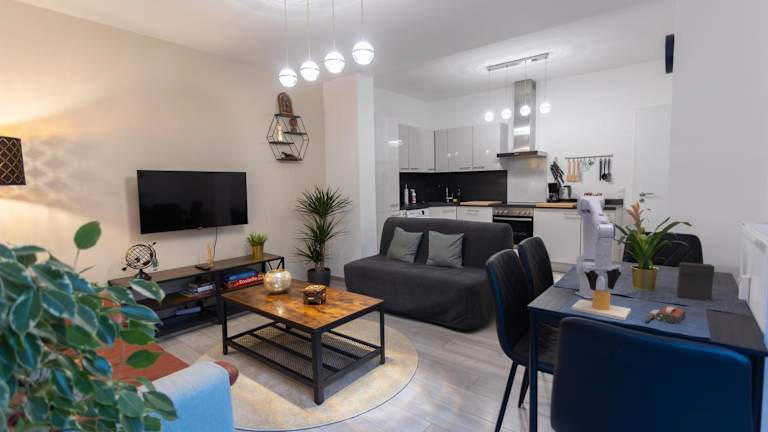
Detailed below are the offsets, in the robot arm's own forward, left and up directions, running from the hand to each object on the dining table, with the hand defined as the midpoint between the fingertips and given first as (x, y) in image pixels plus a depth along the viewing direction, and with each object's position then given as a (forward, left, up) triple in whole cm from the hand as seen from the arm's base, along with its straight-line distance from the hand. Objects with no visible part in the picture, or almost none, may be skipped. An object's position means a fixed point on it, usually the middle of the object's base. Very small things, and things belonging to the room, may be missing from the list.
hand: (601, 289), depth 147 cm
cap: (0, 0, -7) cm, 7 cm away
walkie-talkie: (-17, +12, -9) cm, 22 cm away
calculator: (-49, -7, -9) cm, 50 cm away
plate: (0, 0, -9) cm, 9 cm away
